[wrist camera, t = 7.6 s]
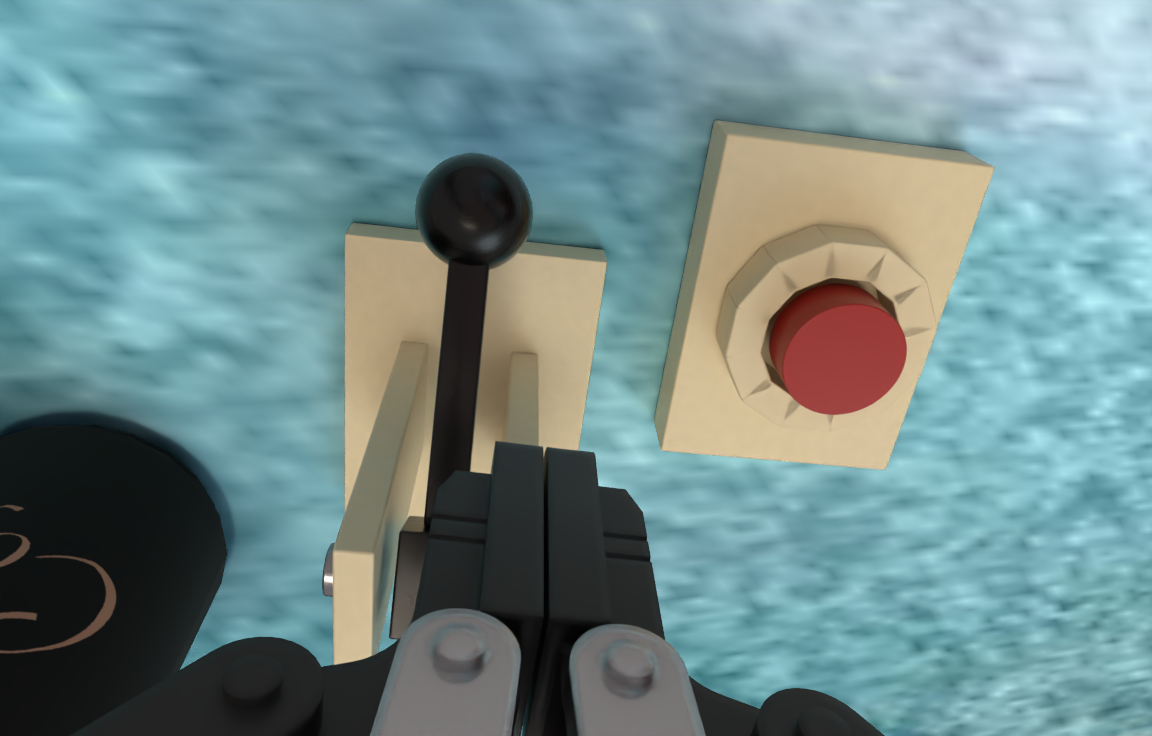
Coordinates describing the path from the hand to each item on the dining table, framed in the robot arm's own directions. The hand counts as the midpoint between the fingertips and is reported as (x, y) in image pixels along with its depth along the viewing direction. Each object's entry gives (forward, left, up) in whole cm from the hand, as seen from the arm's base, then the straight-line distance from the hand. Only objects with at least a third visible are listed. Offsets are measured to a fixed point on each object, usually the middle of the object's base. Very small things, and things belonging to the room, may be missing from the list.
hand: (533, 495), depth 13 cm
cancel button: (+3, +10, -15) cm, 18 cm away
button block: (+3, +10, -18) cm, 21 cm away
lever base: (+8, -2, -18) cm, 20 cm away
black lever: (+5, -2, -11) cm, 12 cm away
